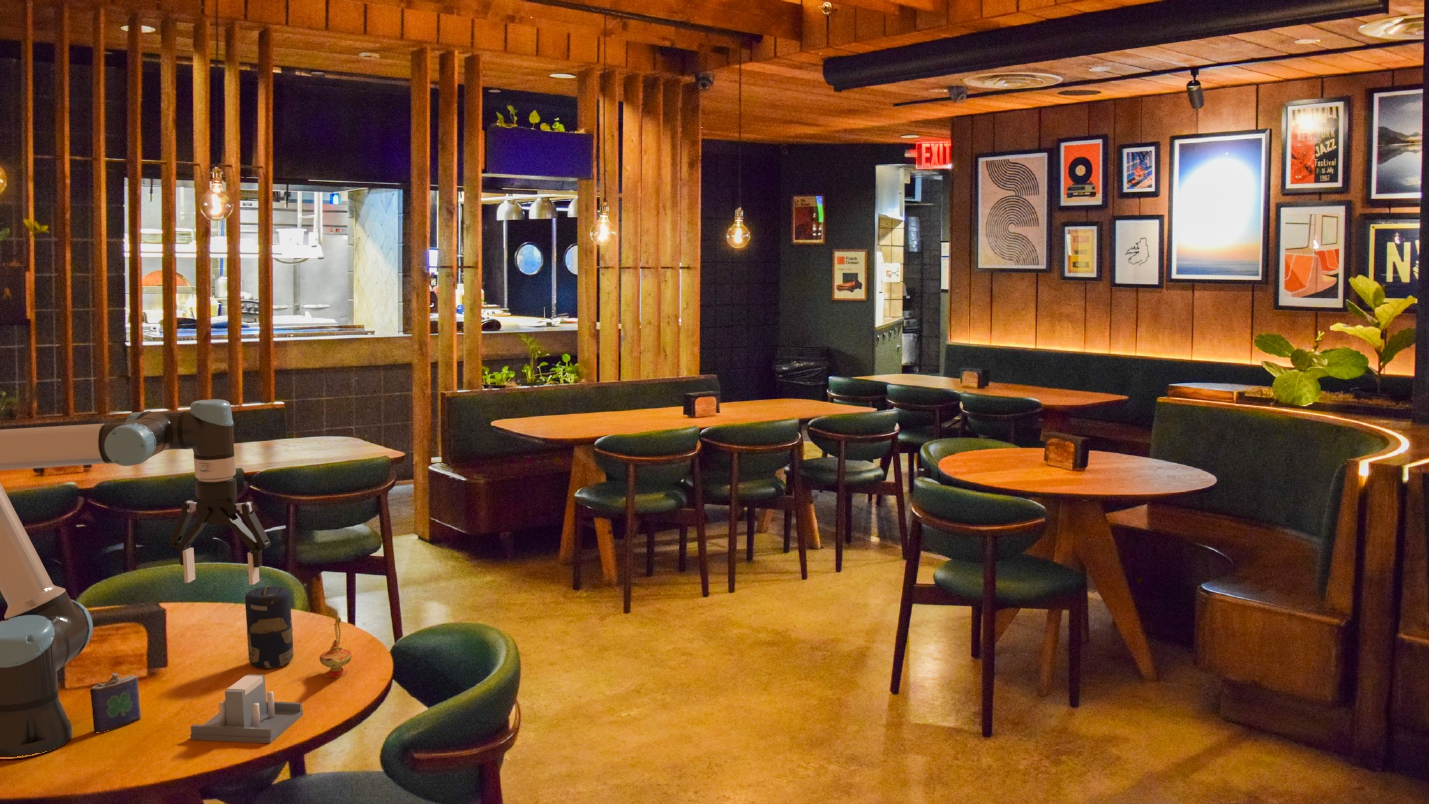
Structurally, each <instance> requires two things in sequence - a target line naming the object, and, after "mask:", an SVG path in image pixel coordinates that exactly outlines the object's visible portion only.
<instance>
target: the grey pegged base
mask: <svg viewBox="0 0 1429 804" xmlns="http://www.w3.org/2000/svg"><path fill="white" fill-rule="evenodd" d="M274 696H275V694H274V691H272V690H271V691H267V693H266V705H267V714H266V715H265V716H263V717H262V718H261V719H260V712H259V703H254V704H252V707H253V723H254V725H252V726H251V727H238V726H227V717H226V702H225V700H224V701H220V702H218V709H219V712H218V713H217V714H215V715H214V716H213V717H212V718H210V719H209V720H207V722H205V723H204V724H192V725H190V740H191V741H206V742H207V741H209V742H210V741H211V742H229V741H230V742H233V743H257V744H272V743H273V742H274V741H275V740H276V739H277V738H279V736H280V735H282V733H284V732H285V731H286V730H287V729H289V728H290V727H291V726H292V725H293V724H294V723H295V722H297V720H299V719H301V717H302V716H303V715H304V709H303V703H302V702H294V701H293V702H291V701H275V698H274ZM230 742H229V743H230Z"/></svg>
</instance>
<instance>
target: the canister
mask: <svg viewBox="0 0 1429 804" xmlns="http://www.w3.org/2000/svg"><path fill="white" fill-rule="evenodd" d="M244 597H245V598H244V600H245V601H244V602H245V603H244V605H245V618H246V636H247V637H246V639H247V651H248V652H247V653H248V661H249V664H250V665H251V666H252V667H254V668H257V669H258V668H260V669H272V668H278V667H281V666H285V665H287V664H289V663H291V661H292V660H293V659H294V641H293V640H294V636H293V631H294V629H293V621H292V620H293V619H292V607H291V606H292V605H291V594H290V591H289V589H288V588H286V587H283V586H280V585H279V586H278V585H271V586H270V585H266V586H261V587H257V588H253V589H251V590H248V592H247V593H246V594H245V596H244Z"/></svg>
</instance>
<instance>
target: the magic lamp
mask: <svg viewBox="0 0 1429 804" xmlns="http://www.w3.org/2000/svg"><path fill="white" fill-rule="evenodd" d="M341 622H342V618H341V616H337V617H335V622H334V624H333V626H334V632H335V639H334V640H333V642H332V643H331V644H332V645H331V646H330V649H329V650H327V651H324V652H323V653H321V654H320V655H319V662H320V664H322V665H323V666H324V667H327V668H330V669H329V670H328V671H326V672H325V673H324V677H326V678H330V677H336V678H341V677H344V676H347V675H348V674H349V672H350V671H349V670H347V669H345V668H343V667H344V666H345V665H347V664H349V663H350V661H351V660H352V659H353V654H352V652H351V651H350V650H348V649H345V648H344V649H343V648H342V646H341V633H342V632H341V627H340V623H341Z"/></svg>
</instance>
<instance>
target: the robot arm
mask: <svg viewBox="0 0 1429 804" xmlns="http://www.w3.org/2000/svg"><path fill="white" fill-rule="evenodd" d="M126 418H127V419H126V420H125V421H123V422H122V421H121V422H111V423H110V422H109V423H94V424H93V423H92V424H91V423H89V424H75V425H73V424H72V425H59V426H41V427H25V428H23V427H22V428H21V427H20V428H6V429H0V471H12V470H14V471H15V470H27V469H28V470H29V469H43V468H57V467H74V466H87V465H89V466H90V465H101V464H103V465H104V464H107V465H108V464H117V465H119V466H121V467H122V466H123V467H130V466H137V465H140V464H142V463H144V462H146V461H147V460H148V459H150V458H152V457H154V456H155V455H159V454H160V453H162V452H164V451H174V450H192V451H193V463H194V476H195V478H196V481H195V483H194V484H195V494H196V495H195V496H196V499H197V501H196V502H195V501H194V500H193V499H189V500H186V501H184V502H182V503H181V509H180V511H181V513H180V515H179V517H178V520H177V523H176V525H175V528H174V530H173V532H172V535H171V537H170V539H169V541H168V546H169V547H170V548H175V549H177V550H178V555H179V564H180V566H183V576H184V584H189V583H191V582H192V581H194V580H196V568H195V567H196V566H195V564H196V563H195V551H194V550H195V549H194V547H191V545H192V543H194V541H195V540H196V538H197V537H198V536H199V534H200V533H201V532H202V530H203V529H204V528H205V527H206V525H207V524H208V525H209V526H210V525H212V526H213V525H218V526H225V525H226V526H228V528H230V529H231V530H233V532H235V534H236V535H237V536H238V537H239V539H240V540H241V541H242V543H244V544H245V546H246V547H247V548H248V549H249V550H250V551H249V552H247V565H248V566H247V567H248V582H249V583H248V585H249V586H252V585H253V586H254V585H255V584H257V583H258V582H260V568H261V567H262V565H263V550H266V549H267V548H269V547H270V546H271V545H272V542H271V540H270V539H269V537H268V535H267V533H266V531H265V529H264V527H263V526H262V524H261V522H260V519H259V517H257V513H256V512H255V508H254V503H253V501H251V500H248V501H247V502H240V503H239V502H238V499H237V497H238V492H237V491H238V489H237V487H238V486H237V478H235V477H234V476H235V475H236V474H237V469H236V459H235V457H236V456H235V442H234V441H235V440H234V439H235V437H234V420H233V414H232V406H231V404H230V402H229V400H228V401H227V400H225V399H217V398H215V399H213V398H212V399H211V398H210V399H200V400H196V401H192V403H190V408H189V410H187V411H185V410H184V411H151V410H146V411H139V412H132V413H130V414H129V415H128V416H127V417H126ZM194 512H197V513H199V517H197V519H196V520H195V521H194V524H193V525H192V527H191V528H190V529H189V531H188V532H187V533H186V531H187V528H188V526H189V524H190V521H191V519H192V517H193V513H194ZM237 512H239V513H240V514H242V517H243V519H244V521H245V522H246V523H244V522H243V520H242V518H241V516H239V514H238V513H237ZM245 524H246V525H247V526H248V527H247V526H246V525H245ZM185 533H186V534H185ZM0 593H1V595H2V596H3V598H4V600H5V602H6V603H7V608H6V610H5V613H4V616H3V617H4V620H1V621H0V757H17V756H22V755H23V756H25V755H32V754H35V753H42V752H45V751H50V750H52V751H54V750H53V749H54V748H57V749H59V748H61V747H63V746H64V745H63V744H65V745H66V744H67V743H68V742H70V741H71V739H72V738H73V727H72V722H71V720H70V719H69V718H68V716H67V713H66V711H65V709H64V706H63V704H62V703H61V700H60V696H59V686H58V673H57V672H58V671H59V670H61V668H63V667H65V665H66V664H68V663H69V662H70V661H72V660H74V659H76V658H77V656H78V657H79V655H81V653H82V652H83V651H84V649H85V648H86V646H88V644H89V642H90V640H91V638H92V636H93V630H94V624H93V618H92V615H91V613H90V612H89V610H88V609H87V608H86V606H84V605H83V603H80V602H77V601H75V600H74V599H71V597H70V596H69V593H68V592H67V590H66V588H65V587H64V588H63V587H61V586H58V585H55V584H53V581H52V579H51V577H50V576H49V574H48V572H47V570H46V568H45V566H44V565H43V562H42V560H41V558H40V556H39V554H38V553H37V551H36V548H35V547H34V545H33V543H32V541H31V539H30V537H29V535H28V533H27V531H26V530H25V527H24V526H23V523H22V521H21V520H20V518H19V515H18V514H17V512H16V511H15V508H14V507H13V504H12V502H11V500H10V498H9V497H8V495H7V493H6V491H5V488H4V486H3V485H2V483H1V482H0ZM69 740H70V741H69ZM66 742H67V743H66ZM62 745H63V746H62ZM60 746H61V747H60ZM58 747H59V748H58ZM50 752H51V751H50Z"/></svg>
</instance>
